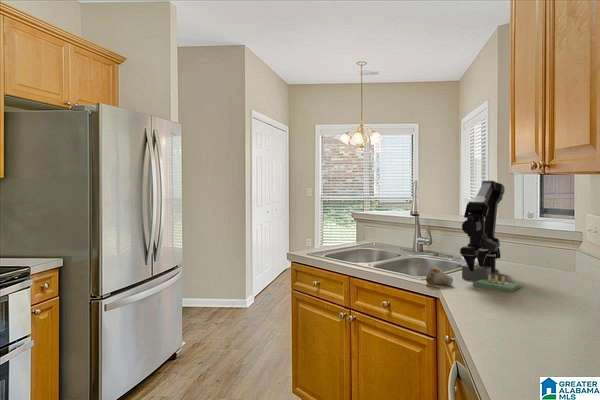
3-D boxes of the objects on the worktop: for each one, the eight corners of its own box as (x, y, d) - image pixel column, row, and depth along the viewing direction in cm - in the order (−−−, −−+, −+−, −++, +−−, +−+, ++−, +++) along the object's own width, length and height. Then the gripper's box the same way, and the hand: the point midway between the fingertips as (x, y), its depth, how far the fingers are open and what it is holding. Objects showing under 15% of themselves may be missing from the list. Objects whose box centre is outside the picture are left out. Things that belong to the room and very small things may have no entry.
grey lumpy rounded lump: (453, 288, 174) (439, 266, 174) (431, 296, 180) (418, 274, 180) (458, 280, 180) (445, 258, 180) (437, 287, 186) (424, 266, 186)
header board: (482, 281, 183) (482, 271, 183) (519, 287, 173) (519, 276, 173) (473, 285, 177) (473, 275, 176) (511, 292, 167) (511, 280, 167)
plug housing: (467, 275, 194) (467, 264, 193) (491, 279, 187) (491, 267, 186) (461, 277, 190) (462, 265, 190) (486, 281, 183) (486, 269, 183)
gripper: (487, 235, 175) (487, 276, 176) (505, 230, 188) (505, 268, 189) (459, 233, 183) (459, 272, 184) (478, 228, 196) (478, 264, 197)
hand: (476, 269), depth 188 cm, fingers open, 9 cm apart
